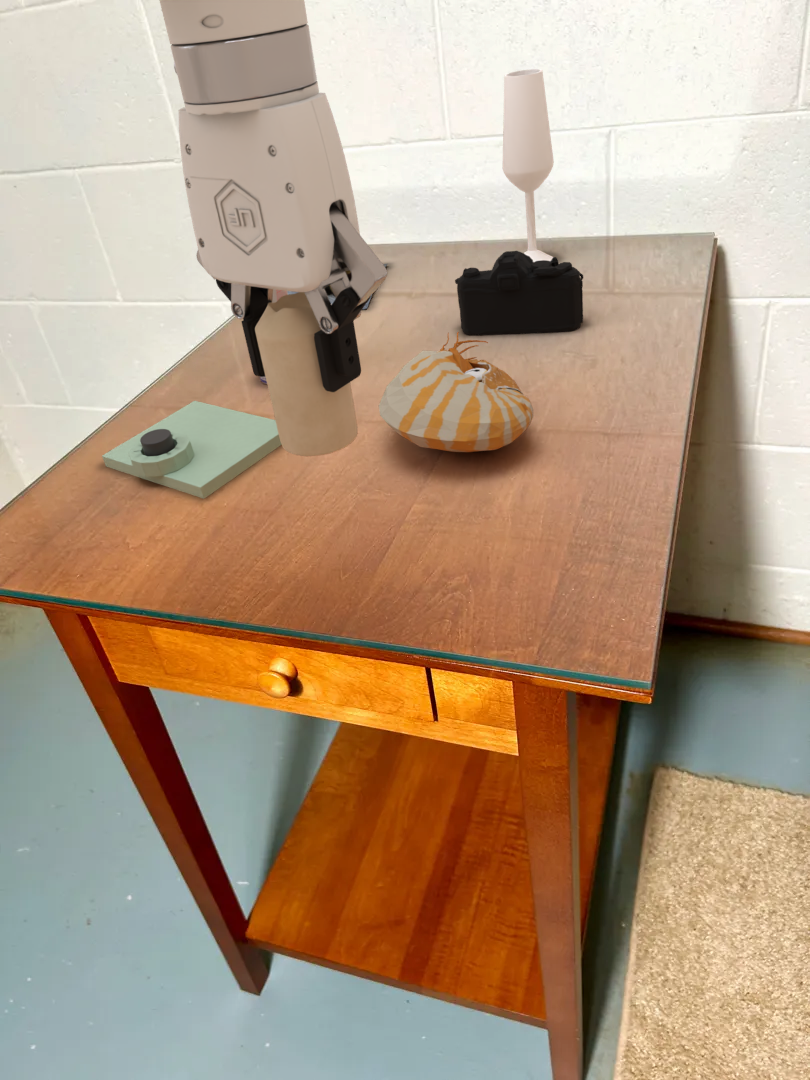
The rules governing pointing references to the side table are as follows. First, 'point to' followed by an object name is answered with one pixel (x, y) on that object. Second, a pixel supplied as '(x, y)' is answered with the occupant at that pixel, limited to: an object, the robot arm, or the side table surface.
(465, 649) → the side table surface
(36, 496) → the side table surface
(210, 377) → the side table surface
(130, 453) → the scale
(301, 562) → the side table surface
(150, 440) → the button
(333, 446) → the candle
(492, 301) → the film camera
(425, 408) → the nautilus
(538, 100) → the champagne flute
